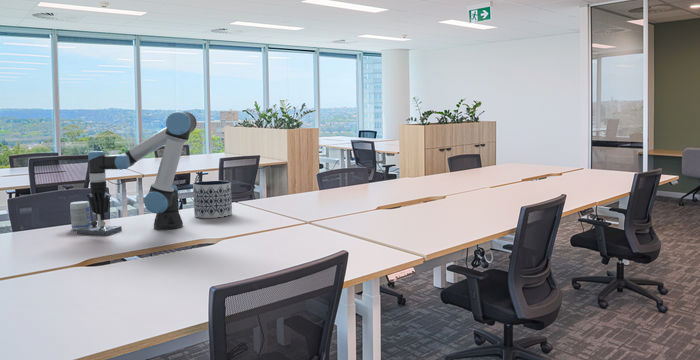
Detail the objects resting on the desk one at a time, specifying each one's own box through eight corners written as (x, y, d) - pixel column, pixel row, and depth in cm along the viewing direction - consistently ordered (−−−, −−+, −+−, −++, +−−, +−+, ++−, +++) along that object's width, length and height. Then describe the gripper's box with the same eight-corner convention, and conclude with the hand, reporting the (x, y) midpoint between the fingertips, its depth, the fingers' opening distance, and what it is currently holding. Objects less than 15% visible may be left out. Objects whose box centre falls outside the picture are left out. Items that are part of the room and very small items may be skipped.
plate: (121, 230, 284) (121, 226, 283) (106, 235, 272) (105, 230, 272) (93, 229, 288) (92, 225, 288) (76, 234, 277) (76, 229, 276)
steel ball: (109, 228, 278) (104, 225, 279) (105, 230, 275) (100, 227, 276) (107, 234, 279) (102, 231, 280) (103, 235, 276) (98, 232, 277)
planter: (227, 218, 315) (225, 184, 313) (189, 219, 315) (187, 185, 313) (235, 212, 337) (234, 180, 335) (200, 212, 338) (199, 180, 335)
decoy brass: (106, 226, 285) (106, 220, 284) (102, 227, 282) (102, 221, 281) (101, 225, 285) (101, 220, 285) (97, 227, 282) (97, 221, 282)
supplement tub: (92, 229, 289) (90, 202, 288) (72, 231, 284) (70, 204, 283) (89, 226, 298) (87, 200, 296) (70, 228, 292) (68, 202, 291)
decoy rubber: (98, 225, 286) (98, 219, 286) (94, 226, 283) (94, 221, 282) (93, 225, 287) (93, 219, 286) (89, 226, 284) (89, 220, 283)
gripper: (113, 180, 277) (116, 225, 280) (92, 180, 280) (95, 224, 283) (103, 182, 270) (106, 228, 272) (82, 181, 273) (85, 227, 276)
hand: (101, 226), depth 278 cm, fingers closed
